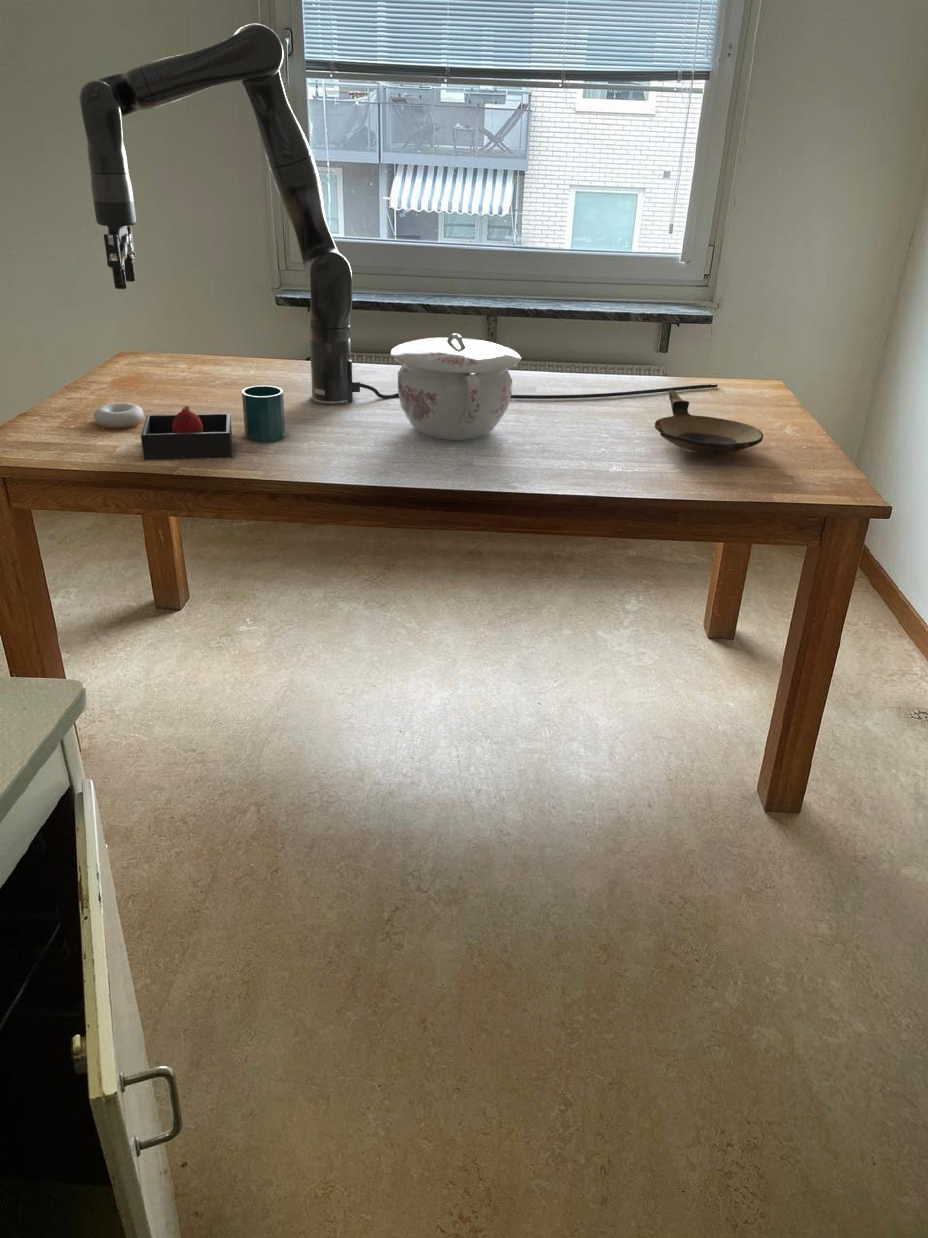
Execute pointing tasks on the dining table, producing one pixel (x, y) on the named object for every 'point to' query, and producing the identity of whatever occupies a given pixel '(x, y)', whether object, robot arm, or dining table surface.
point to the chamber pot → (454, 385)
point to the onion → (187, 422)
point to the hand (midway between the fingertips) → (125, 284)
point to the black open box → (187, 438)
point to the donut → (119, 415)
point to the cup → (263, 413)
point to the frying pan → (705, 430)
